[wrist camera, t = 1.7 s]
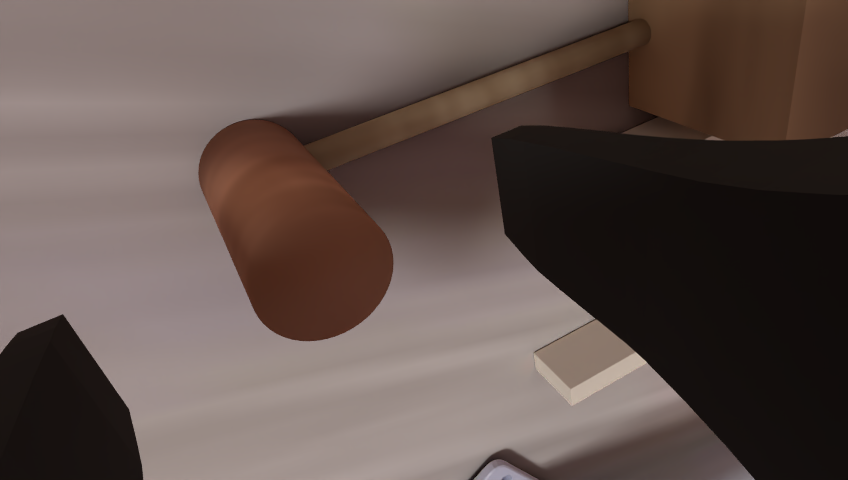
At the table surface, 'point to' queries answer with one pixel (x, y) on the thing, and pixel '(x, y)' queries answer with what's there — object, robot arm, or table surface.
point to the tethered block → (648, 91)
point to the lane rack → (594, 343)
